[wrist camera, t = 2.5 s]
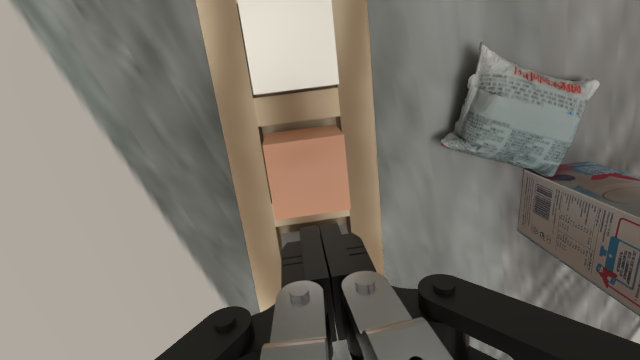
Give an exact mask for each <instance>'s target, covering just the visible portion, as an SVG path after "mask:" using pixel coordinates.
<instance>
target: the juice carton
mask: <svg viewBox="0 0 640 360" xmlns="http://www.w3.org/2000/svg"><path fill="white" fill-rule="evenodd" d="M517 231H519V232H520V233H521V234H522V235H524V236H525V237H527V238H528V239H530V240H531V241H532V242H534V243H535V244H537V245H538V246H540V247H541V248H542V249H544V250H545V251H547V252H548V253H550V254H551V255H553V256H554V257H555V258H557V259H558V260H560V261H561V262H563V263H564V264H565V265H567V266H568V267H570V268H571V269H573V270H574V271H575V272H577V273H578V274H580V275H581V276H583V277H584V278H586V279H587V280H588V281H590V282H591V283H593V284H594V285H596V286H597V287H598V288H600V289H601V290H603V291H604V292H606V293H607V294H608V295H610V296H611V297H613V298H614V299H616V300H617V301H619V302H620V303H621V304H623V305H624V306H626V307H627V308H629V309H630V310H632V311H633V312H634V313H636V314H637V315H639V316H640V177H637V176H634V175H631V174H628V173H624V172H621V171H618V170H615V169H611V168H608V167H605V166H601V165H598V164H595V163H592V162H582V163H574V164H565V165H559V167H558V169H557V171H556V173H555V175H554V176H552V177H547V176H543V175H541V174H539V173H537V172H536V171H534V170H531V169H524V174H523V184H522V193H521V202H520V212H519V221H518V230H517Z"/></svg>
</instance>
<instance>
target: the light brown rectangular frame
mask: <svg viewBox="0 0 640 360" xmlns="http://www.w3.org/2000/svg"><path fill="white" fill-rule="evenodd" d="M331 1H332V12H333V22H334V33H335V44H336V54H337V65H338V76H339V84H336V85H328V86H320V87H312V88H304V89H296V90H288V91H280V92H272V93H264V94H256V95H254V94H253V88H252V82H251V77H250V71H249V65H248V59H247V53H246V48H245V42H244V36H243V30H242V24H241V19H240V13H239V7H238V1H237V0H196V5H197V9H198V14H199V19H200V24H201V29H202V34H203V38H204V43H205V48H206V53H207V58H208V62H209V67H210V72H211V77H212V82H213V86H214V91H215V96H216V101H217V106H218V110H219V115H220V120H221V125H222V130H223V135H224V139H225V144H226V149H227V154H228V159H229V163H230V168H231V173H232V178H233V183H234V187H235V192H236V197H237V202H238V207H239V212H240V216H241V221H242V226H243V231H244V236H245V240H246V245H247V250H248V255H249V260H250V264H251V269H252V274H253V279H254V284H255V288H256V293H257V298H258V303H259V308H260V312H263V311H265V310H267V309H268V308H270V307H271V306H273V305H274V304H275V302H276V296H277V294H278V292H279V291H280V290H281V267H282V266H281V250H282V240H283V233H289V232H296V231H299V228H303V227H310V226H318V228H319V225H323V224H330V223H338V225H342V224H345V225H346V228H347V230H348V233H354V234H355V235H357V236H358V237H360V238H361V239H362V241H363V243H364V246H365V248H366V250H367V253H368V254H369V256H370V258H371V260H372V262H373V265H374V267H375V269H376V271H377V273H379V274H381V275H383V276H384V277H385V274H384V258H383V242H382V227H381V211H380V195H379V180H378V164H377V148H376V133H375V117H374V102H373V86H372V70H371V55H370V39H369V23H368V8H367V0H331ZM334 124H335V125H336V126H337V127H338V128H339V130H340V131H341V132H342V133H343V134H344V140H345V150H346V161H347V172H348V182H349V193H350V204H351V209H349V210H343V211H336V212H329V213H322V214H315V215H309V216H302V217H295V218H288V219H281V220H275V215H274V210H273V204H272V198H271V192H270V186H269V181H268V175H267V169H266V163H265V158H264V152H263V146H262V145H263V142H264V138H265V135H266V133H274V132H281V131H289V130H296V129H304V128H312V127H319V126H327V125H334Z"/></svg>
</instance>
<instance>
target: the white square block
mask: <svg viewBox="0 0 640 360" xmlns="http://www.w3.org/2000/svg"><path fill="white" fill-rule="evenodd" d="M237 1H238V7H239V13H240V19H241V24H242V30H243V36H244V42H245V48H246V53H247V59H248V65H249V71H250V77H251V82H252V88H253V94H254V95H256V94H264V93H272V92H280V91H288V90H296V89H304V88H312V87H320V86H328V85H336V84H339V76H338V65H337V54H336V44H335V33H334V22H333V12H332V1H331V0H237Z"/></svg>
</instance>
